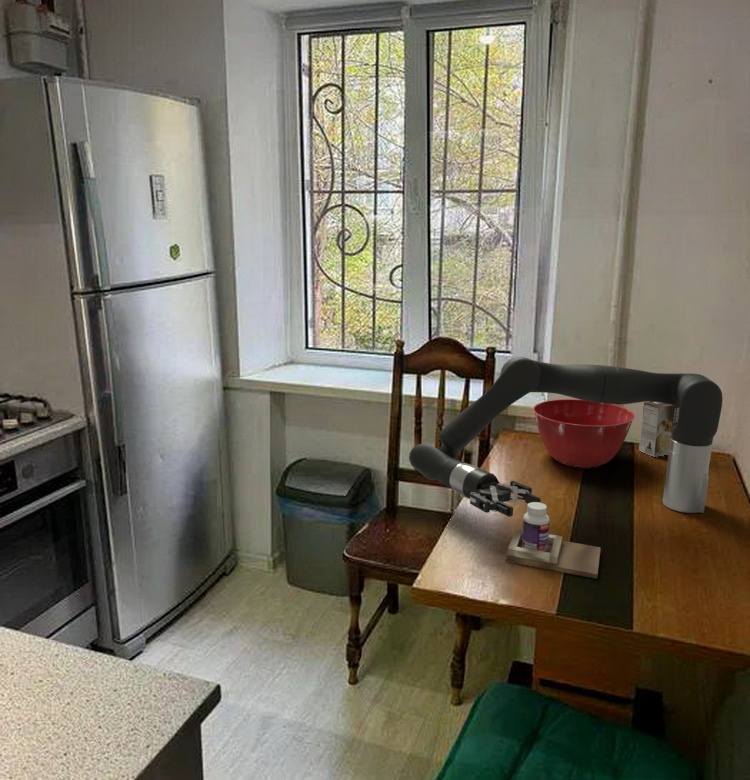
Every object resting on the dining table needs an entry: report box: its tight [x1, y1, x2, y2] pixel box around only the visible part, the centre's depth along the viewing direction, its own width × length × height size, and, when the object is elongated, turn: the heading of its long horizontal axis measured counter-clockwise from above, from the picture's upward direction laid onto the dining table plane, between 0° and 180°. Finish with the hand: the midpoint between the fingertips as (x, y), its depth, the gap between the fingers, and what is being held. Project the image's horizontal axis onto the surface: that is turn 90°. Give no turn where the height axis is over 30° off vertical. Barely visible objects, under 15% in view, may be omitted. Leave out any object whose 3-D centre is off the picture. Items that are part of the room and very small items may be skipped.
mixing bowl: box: [532, 398, 636, 469], centre depth 195 cm, size 28×28×16 cm
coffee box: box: [638, 402, 680, 458], centre depth 202 cm, size 9×6×16 cm
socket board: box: [506, 528, 602, 580], centre depth 140 cm, size 18×12×2 cm, turn 69°
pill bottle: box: [522, 502, 550, 552], centre depth 140 cm, size 5×5×10 cm
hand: (526, 507), depth 142 cm, fingers open, 8 cm apart
